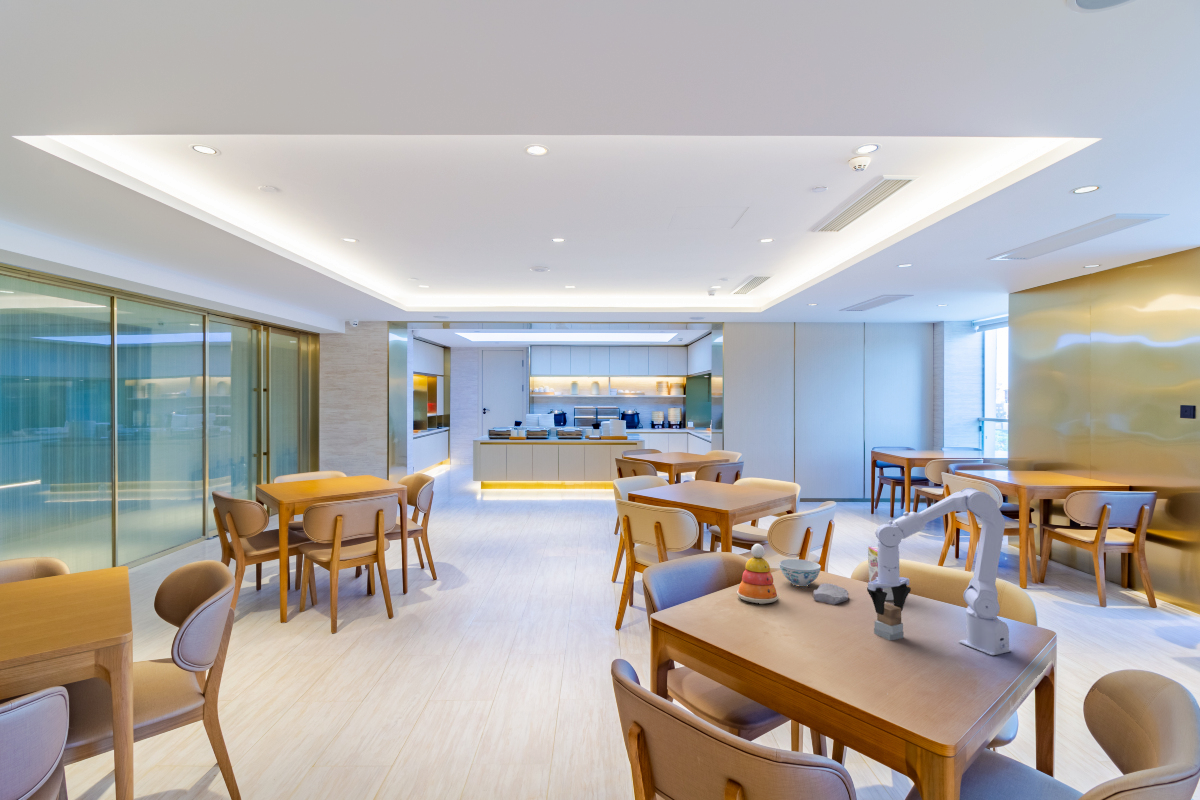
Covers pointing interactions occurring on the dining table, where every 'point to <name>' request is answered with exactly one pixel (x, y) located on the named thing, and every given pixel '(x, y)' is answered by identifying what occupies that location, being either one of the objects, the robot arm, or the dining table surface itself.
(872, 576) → the candy bar box
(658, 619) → the dining table surface
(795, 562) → the chinaware
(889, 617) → the walnut cube
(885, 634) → the tower base
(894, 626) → the tower top
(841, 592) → the stone block
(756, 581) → the stacking toy
